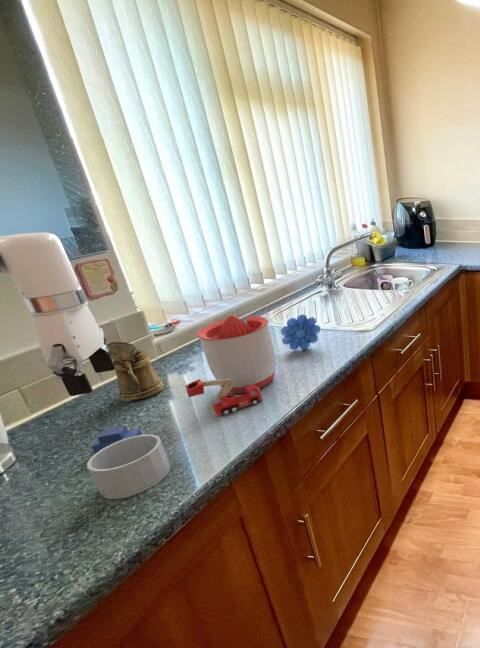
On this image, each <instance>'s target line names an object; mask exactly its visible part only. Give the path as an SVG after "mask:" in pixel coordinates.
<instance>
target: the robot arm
mask: <svg viewBox="0 0 480 648" xmlns="http://www.w3.org/2000/svg"><path fill="white" fill-rule="evenodd" d="M8 275H9V276H10V278H11V280H12V281H13V283H14V286H15V287H16V289H17V292H18V294H19V295H20V298H21V300H22V301H23V303H24V305H25V307H26V309H27V311H28V313H29V315H30V319H31V324H32V328H33V331H34V334H35V335H34V336H35V337H36V340H37V342H38V345H39V347H40V350H41V352H42V355H43V357H44V359H45V361H46V367H47V368H48V369H50V370H51V371H52V373H53V374H54V375H55V376H57V378H58V379H59V380H61V381H62V383H63V385H64V387H65V389H66V392H67V393H68V395H69V396H71V397H74V396H75V397H76V396H81V395H86V394H91V393H93V390H94V388H93V387H92V384H91V383H90V381H89V378H88V377H87V374H86V373H85V372H83V373H82V362H85V361H86V360H87V359H88V361H89V362H90V365H91V367H92V368H93V371H94V373H96V374H99V373H106V372H112V371H115V370H114V369H115V368H116V367H115V365H114V361H113V359H112V358H111V356H110V354H109V352H108V351H109V348H108V347H107V346H106V345H107V338H105V333H104V329H103V328H102V327H100V326H99V324H98V322H97V321H96V319H95V317H94V315H93V313H92V312H91V309H90V308H89V307H88V304H89V302H88V300H87V298H86V296H85V292H84V291H83V288H82V286H81V285H80V282H79V279H78V278H77V275H76V273H75V271H74V268H73V266H72V263H71V261H70V259H69V257H68V255H67V252H66V250H65V248H64V246H63V243H62V241H61V240H60V238H59V237H58V236H57V235H55V234H54V233H51V232H46V231H45V232H43V231H42V232H23V233H15V234H10V235H0V278H1V277H4V276H8ZM71 365H72V366H73V368H72V367H69V366H71Z"/></svg>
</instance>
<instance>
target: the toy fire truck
mask: <svg viewBox="0 0 480 648" xmlns="http://www.w3.org/2000/svg"><path fill="white" fill-rule="evenodd" d="M235 383H236V382H235V380H233V379H230V378H226V379H221V380H216V379H213V380H203V381H202V380H201V379H200V378H198V379H195V380H193V381H192V382H189V383H187V384H186V385H185V390H186V393H187V395H188V398H192V397H195V396H199V395H203V394H204V393H205V388H204V387H212V386H220V385H221V384H223V386H222V387H221V388H220V390H219V393H218V394H217V396H216V397H217V400H218V401H219V402H217V403H216V402H215V403H213V404H212V409H213V410H214V413H215V415H216V416H217V417H219V416H222V415H225V416H226V415H229V414H230V412H232V413H235V412H237V411H238V410H239V409H243V408H245V407H248V406H251V405H253V406H254V405H257V404H258V403H260V402H262V401H263V396H262V391H261V389H260V388H259V387H258V386H256V385H246V386H245V390H246V392H245V393H243V394H240V395H238V396H235V393H230V390H231V389H232V387H233V386H234V384H235Z"/></svg>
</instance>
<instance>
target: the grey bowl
mask: <svg viewBox="0 0 480 648" xmlns="http://www.w3.org/2000/svg"><path fill="white" fill-rule="evenodd" d="M86 467H87V470H88V473H89V475H90V476H91V478H92V481H93V483H94V485H95V486H96V488H97V490H98V493H99V494H100V495H101V496H102V497H103V498H104V499H107V500H120V499H125V498H129V497H132V496H133V497H134V496H135V495H138V494H141V493H143V492H145V491H148V490H149V489H151V488H152V487H155V486H156V485H158V484H159V483H160V482H161V481H162V480H164V479H165V478H166V477H167V476H168V474H169V473H170V471H171V469H172V466H171V461H170V459H169V457H168V455H167V451H166V449H165V447H164V445H163V442H162V440H161V437H160V436H158V435H156V434H142V435H138V436H133V437H129V438H126V439H123V440H120V441H118V442H115V443H113V444H111V445H109V446H107V447H105V448H103V449H102V450H100V451H99V452H97V453H96V454H95V453H94V454H93V455H92V456H91V457H90V458H89V460H88V461H87V462H86Z"/></svg>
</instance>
